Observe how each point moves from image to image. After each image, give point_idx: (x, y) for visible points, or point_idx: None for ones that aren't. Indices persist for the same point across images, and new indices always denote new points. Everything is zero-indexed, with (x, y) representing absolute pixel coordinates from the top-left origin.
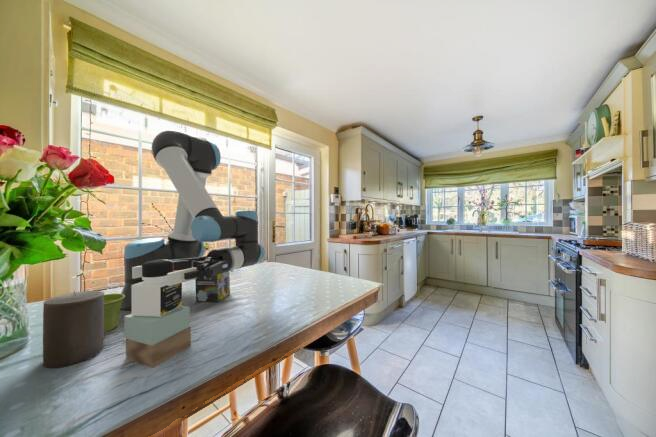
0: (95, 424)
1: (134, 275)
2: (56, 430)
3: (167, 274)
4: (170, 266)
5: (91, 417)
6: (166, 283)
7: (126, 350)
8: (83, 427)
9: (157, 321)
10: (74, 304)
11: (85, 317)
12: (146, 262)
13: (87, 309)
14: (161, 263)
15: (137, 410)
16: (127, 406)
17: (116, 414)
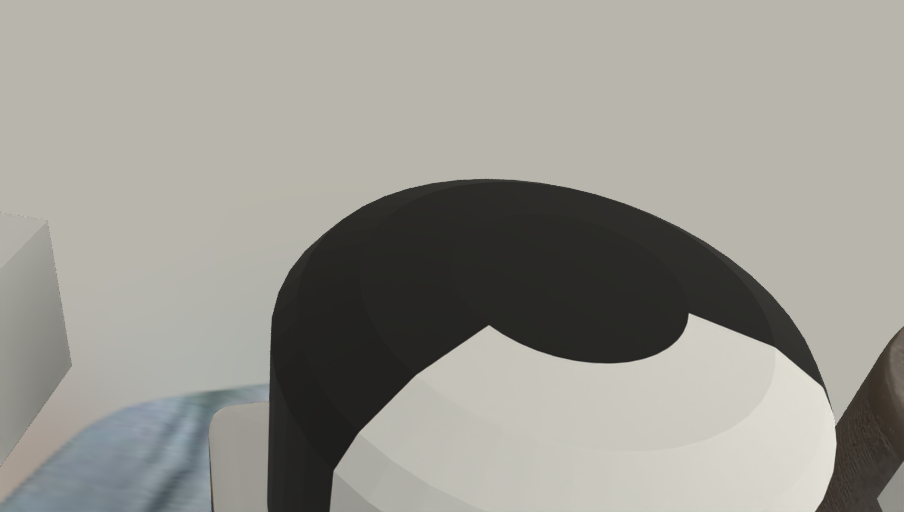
0: (157, 418)
1: (899, 471)
2: (269, 385)
3: (41, 233)
4: (269, 404)
5: (206, 433)
6: (227, 493)
7: None
8: (188, 405)
9: None
10: (876, 371)
11: (832, 495)
12: (624, 204)
13: (862, 466)
14: (346, 231)
15: (37, 487)
16: (105, 492)
17: (116, 458)
